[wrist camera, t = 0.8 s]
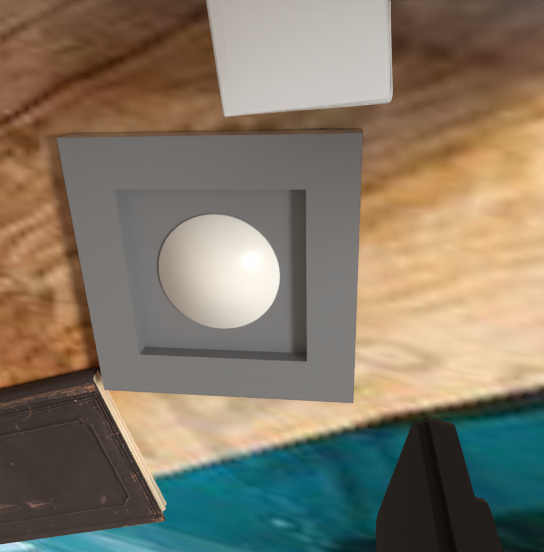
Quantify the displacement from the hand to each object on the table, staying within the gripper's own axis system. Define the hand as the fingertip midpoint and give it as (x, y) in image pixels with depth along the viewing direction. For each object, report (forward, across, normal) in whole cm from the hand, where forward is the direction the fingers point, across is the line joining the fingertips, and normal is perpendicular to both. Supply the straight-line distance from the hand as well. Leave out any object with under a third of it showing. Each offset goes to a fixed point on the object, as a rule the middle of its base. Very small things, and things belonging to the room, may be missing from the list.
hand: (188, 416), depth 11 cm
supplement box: (+27, +1, -8) cm, 28 cm away
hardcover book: (+27, +19, +33) cm, 46 cm away
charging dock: (+26, +4, +9) cm, 28 cm away
